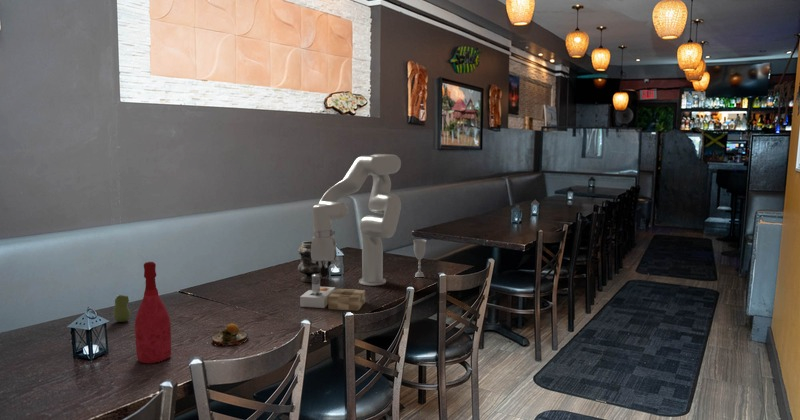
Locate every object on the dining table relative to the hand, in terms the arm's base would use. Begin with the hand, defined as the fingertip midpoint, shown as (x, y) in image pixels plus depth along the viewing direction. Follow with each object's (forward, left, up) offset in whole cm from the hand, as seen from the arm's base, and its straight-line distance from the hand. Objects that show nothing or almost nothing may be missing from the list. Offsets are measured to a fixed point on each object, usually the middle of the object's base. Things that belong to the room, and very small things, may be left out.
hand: (324, 276), depth 236 cm
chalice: (-42, +35, -9) cm, 55 cm away
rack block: (+10, +13, -9) cm, 18 cm away
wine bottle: (+74, -30, -9) cm, 80 cm away
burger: (+55, -15, -10) cm, 58 cm away
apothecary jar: (-27, -15, -9) cm, 33 cm away
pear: (+45, -62, -9) cm, 77 cm away
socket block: (+6, 0, -9) cm, 11 cm away
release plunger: (+1, 0, -8) cm, 8 cm away
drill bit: (+10, 0, -9) cm, 13 cm away
